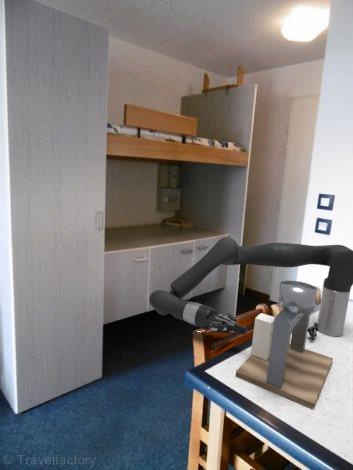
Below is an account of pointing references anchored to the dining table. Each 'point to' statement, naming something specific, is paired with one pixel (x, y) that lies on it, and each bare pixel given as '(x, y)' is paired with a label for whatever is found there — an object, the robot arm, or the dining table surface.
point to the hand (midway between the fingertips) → (246, 331)
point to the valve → (312, 331)
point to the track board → (291, 375)
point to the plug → (262, 336)
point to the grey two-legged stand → (289, 327)
